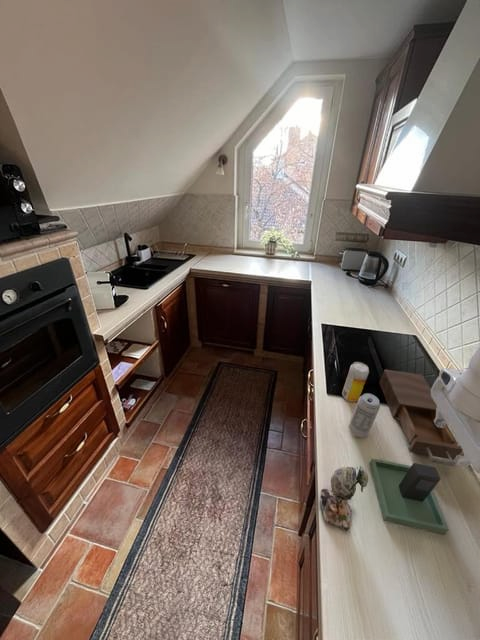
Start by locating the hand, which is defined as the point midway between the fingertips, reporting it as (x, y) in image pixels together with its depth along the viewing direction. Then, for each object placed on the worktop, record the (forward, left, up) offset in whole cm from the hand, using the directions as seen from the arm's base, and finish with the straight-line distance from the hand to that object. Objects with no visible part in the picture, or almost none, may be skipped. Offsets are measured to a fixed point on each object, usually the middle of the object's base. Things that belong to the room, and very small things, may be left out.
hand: (448, 443), depth 56 cm
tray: (+2, +1, -23) cm, 23 cm away
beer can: (+10, -32, -23) cm, 41 cm away
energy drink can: (+10, -17, -23) cm, 30 cm away
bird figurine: (+20, +7, -23) cm, 31 cm away
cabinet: (-10, -34, -23) cm, 42 cm away
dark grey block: (0, 0, -22) cm, 22 cm away
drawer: (-10, -19, -22) cm, 30 cm away
